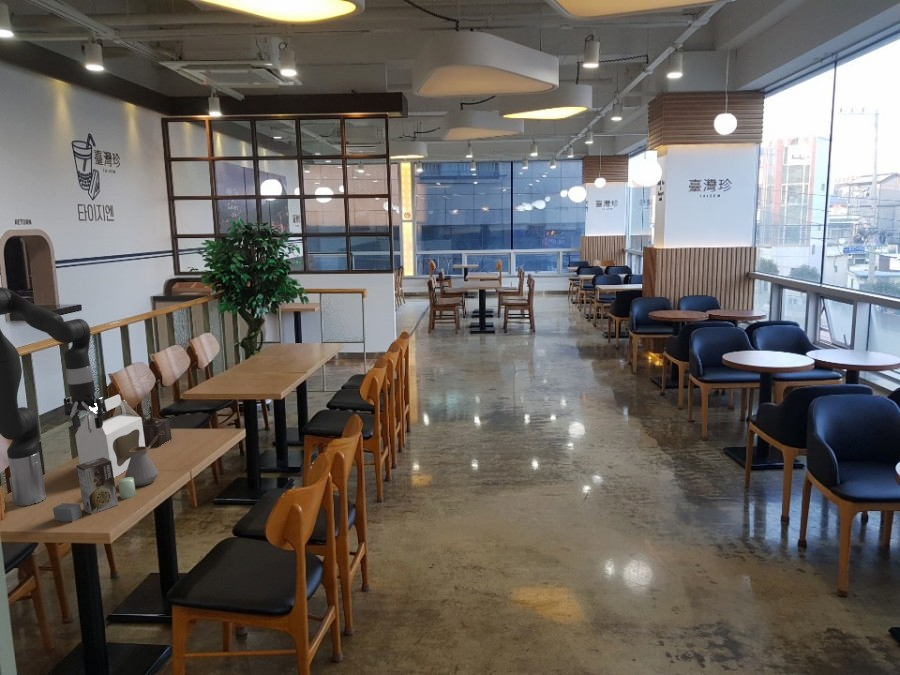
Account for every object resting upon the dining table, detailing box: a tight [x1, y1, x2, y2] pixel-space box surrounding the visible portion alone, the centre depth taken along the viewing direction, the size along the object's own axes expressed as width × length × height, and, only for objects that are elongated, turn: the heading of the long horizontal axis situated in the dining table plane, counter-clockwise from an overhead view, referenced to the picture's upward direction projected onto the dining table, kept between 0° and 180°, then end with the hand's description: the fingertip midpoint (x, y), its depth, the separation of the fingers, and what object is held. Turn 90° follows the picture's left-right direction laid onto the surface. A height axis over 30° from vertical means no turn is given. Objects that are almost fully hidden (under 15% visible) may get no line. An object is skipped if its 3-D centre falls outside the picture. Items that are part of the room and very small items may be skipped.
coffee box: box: [76, 457, 119, 515], centre depth 232 cm, size 9×6×16 cm
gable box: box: [74, 394, 145, 479], centre depth 268 cm, size 22×13×28 cm, turn 170°
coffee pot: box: [124, 431, 165, 487], centre depth 258 cm, size 21×12×15 cm, turn 170°
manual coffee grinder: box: [133, 406, 173, 448], centre depth 295 cm, size 16×11×18 cm
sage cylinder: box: [117, 477, 137, 500], centre depth 242 cm, size 5×5×6 cm
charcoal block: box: [52, 502, 83, 522], centre depth 226 cm, size 7×4×4 cm, turn 77°
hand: (88, 427), depth 228 cm, fingers open, 8 cm apart
